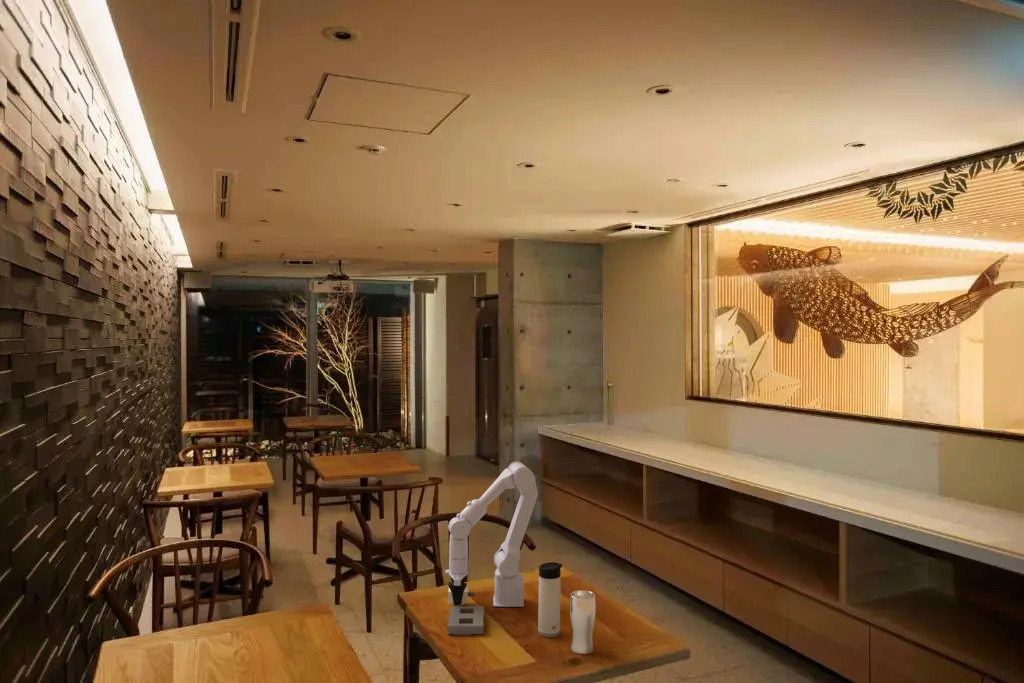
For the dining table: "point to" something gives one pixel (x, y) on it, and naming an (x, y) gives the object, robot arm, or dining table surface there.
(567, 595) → the dining table surface
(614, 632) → the dining table surface
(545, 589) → the travel mug
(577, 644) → the beer glass
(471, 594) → the plug
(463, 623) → the socket plate
